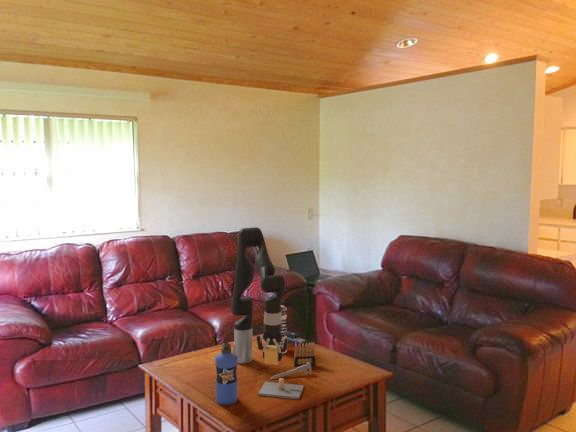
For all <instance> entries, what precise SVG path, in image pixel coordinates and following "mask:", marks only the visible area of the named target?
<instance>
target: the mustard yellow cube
mask: <svg viewBox="0 0 576 432" xmlns="http://www.w3.org/2000/svg"><path fill="white" fill-rule="evenodd" d="M278 353H279V352H278V349H277V348H276V346H271V345H268V347H267V348H266V349H265V350H264V358H263V360H264V361H263V362H264V365H275V366H278V364H279V363H280V361H278Z"/></svg>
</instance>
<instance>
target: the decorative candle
mask: <svg viewBox="0 0 576 432" xmlns="http://www.w3.org/2000/svg"><path fill="white" fill-rule="evenodd" d="M281 316H282V326H281V334H282V336H283V337H288V336H287V331H288V325H287V324H288V320H289V319H288V318H287V317H288V315H287V307H286V306H285V305H283V304H281ZM280 343H281V347H282V348H283V346H284V342H283V340H281V341H280ZM270 346H273V345H270ZM287 352H288V349H287V350H286V351H285V352H282V355H283V354H286V353H287Z"/></svg>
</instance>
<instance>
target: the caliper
mask: <svg viewBox="0 0 576 432" xmlns="http://www.w3.org/2000/svg"><path fill="white" fill-rule="evenodd" d="M308 370H309V371H308ZM302 372H304V373H305V374H306V375H309V374H310V375H312V366H311V364H310V363H309V362H308V363H306V365H303V366H299V367H295V368H293V369H289V370H286V371H284V372H281V373H278V374H275V375H272V376H270V380H275V379H276V380H277V379H280V378H283V377H286V376H289V375H292V374H296V373H298V374H300V373H302Z"/></svg>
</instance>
